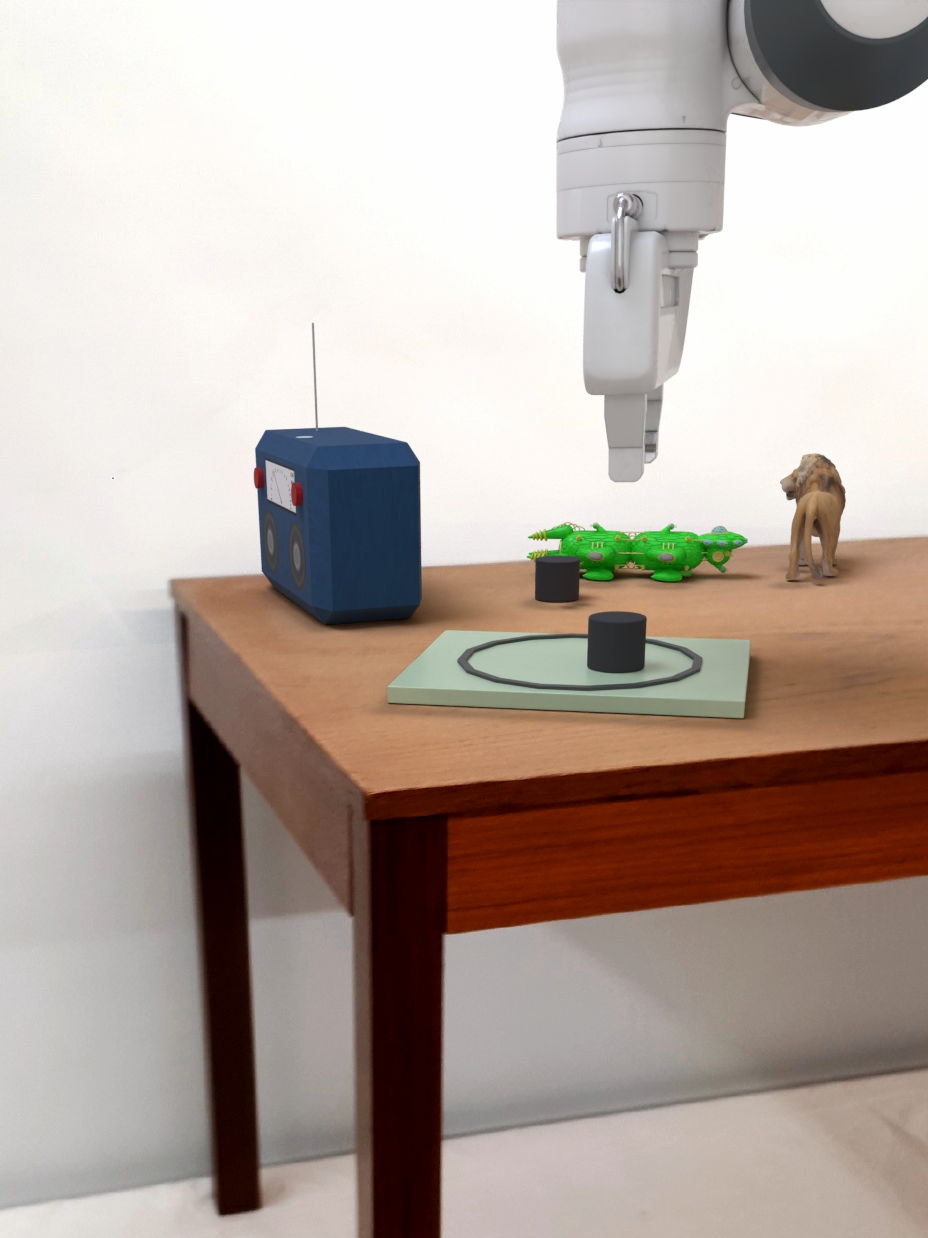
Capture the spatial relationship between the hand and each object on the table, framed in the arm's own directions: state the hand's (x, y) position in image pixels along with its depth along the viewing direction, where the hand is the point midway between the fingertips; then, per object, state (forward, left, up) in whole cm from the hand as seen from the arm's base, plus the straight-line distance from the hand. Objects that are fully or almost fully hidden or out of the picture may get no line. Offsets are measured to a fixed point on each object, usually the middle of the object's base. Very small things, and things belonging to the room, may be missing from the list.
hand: (634, 471), depth 83 cm
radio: (+25, -23, -12) cm, 36 cm away
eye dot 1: (+8, -27, -12) cm, 31 cm away
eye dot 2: (+1, 0, -11) cm, 11 cm away
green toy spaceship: (+3, -38, -12) cm, 40 cm away
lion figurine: (-11, -43, -12) cm, 46 cm away
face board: (+3, -1, -12) cm, 13 cm away
